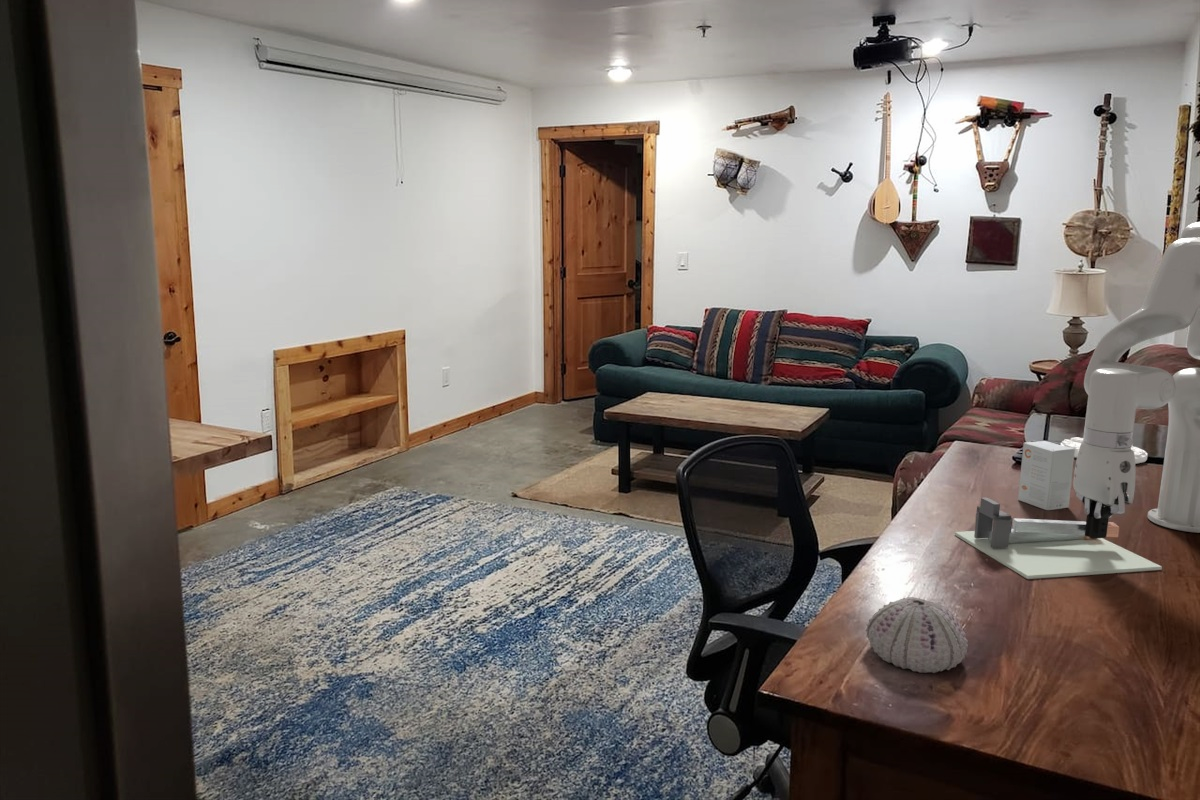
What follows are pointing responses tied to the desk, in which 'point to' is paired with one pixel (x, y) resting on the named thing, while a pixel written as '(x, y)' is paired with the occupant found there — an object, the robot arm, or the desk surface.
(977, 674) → the desk surface
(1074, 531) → the jaw
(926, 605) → the sea urchin shell
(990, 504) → the lock collar
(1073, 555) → the mat
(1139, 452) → the embossed medallion
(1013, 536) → the base
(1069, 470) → the small box
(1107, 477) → the robot arm
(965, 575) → the desk surface
